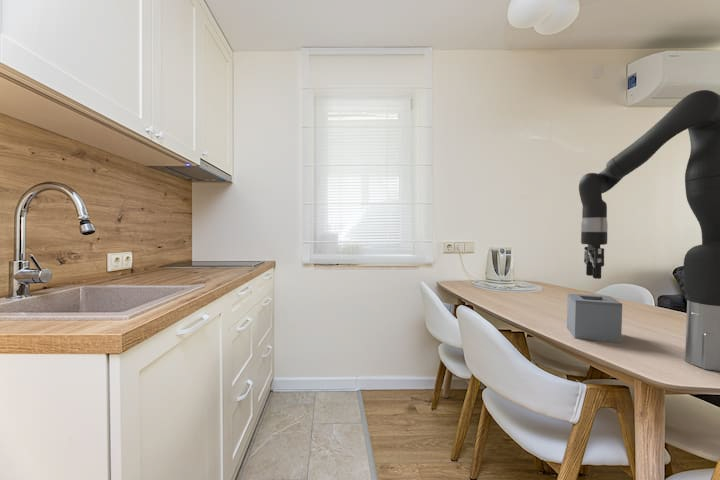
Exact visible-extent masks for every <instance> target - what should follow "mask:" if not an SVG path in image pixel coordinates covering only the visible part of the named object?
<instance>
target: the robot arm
mask: <svg viewBox="0 0 720 480" xmlns="http://www.w3.org/2000/svg"><path fill="white" fill-rule="evenodd" d="M686 130H688V131H687V132H688V135H689V141H690V153H689V157H688V161H687V164H686V168H685V173H684V187H685V189H684V190H685V196H686V201H687V203H688V205H689V208H690V209H691V211H692V213H693V215H694V216H695V218H696V220H697V222H698V224H699V227H700V231H701V232H700V233H701V244H697V245H695V246H692V247H691V248H690V249H689V250H687V251H686V254H685V255H684V259H683V288H684V290H685V293H686V296H687V300H686V301H687V303H686V324H685V325H686V326H685V327H686V329H685V350H684V351H685V352H684V353H685V354H684V355H685V356H684V360H685V362H686V363H688V364H691V365H693V366H696V367H699V368H702V369H703V370H710V371H717V372H720V94H719V93H717V92H715V91H712V90H710V89H704V90H703V89H701V90H696V91H694V92H692V93H689V94H688V95H685V97H683V98H682V99H681V100H680V101H679V102H677V104H675V105H674V106H673V107H672V108H671V109H670V110H669V111H668V112H667V113H666V114H665V115H664V116H663V117H662V118H661V119H660V120H659V121H657V122H656V123H655V124H654V125H653V126H652V127H650V129H649V130H647V131H646V132H645V133H644V134H643V135H641V136H640V137H639V138H637V139H636V140H635V141H634V142H633V143H631V144H630V145H629V146H627V147H626V148H624V149H623V150H621V151H620V152H619V153H617V154H616V155H615V156H613V157H612V158H610V159H609V160H608V161H607V162H606V165H605V168H604V169H602V171H600V172H599V173H598V172H597V173H596V172H589V173H586V174H584V175H582V176H581V179H580V180H579V182H578V192H579V196H580V197H579V198H580V202H581V204H582V208H581V209H582V212H581V213H582V216H581V217H582V220H581V227H580V228H581V230H580V243H581V245H587V246H584V259H583V263H584V264H585V265H586V267H585V268H586V269H585V272H586V273H585V274H586V276H590V277H592V278H593V279H596V280H597V279H598V280H601V279H602V269H603V267H605V248H603V247H602V248H601V246H604V245H608V229H609V228H608V218H607V217H608V216H607V215H608V206H607V203H606V201H605V200H603V197H602V194H605V193H607V192H609V191H610V190H611V189H612V188H614V187H615V186H616V185H618V183H620V182H621V180H622V179H623V178H624V177H626V176H627V175H629V174H631V173H632V172H633V171H635V170H637V169H638V168H639V167H641V166H642V165H644V164H645V163H647V161H648V160H650V159H651V158H652V157H653V156H655V154H656V153H657V151H659V150H660V148H662V147H663V146H664V145H665V144H666V143H667V142H669V141H670V140H672V139H673V138H674V137H676V136H677V135H679V134H681V133H682V132H684V131H686Z"/></svg>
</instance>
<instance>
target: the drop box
mask: <svg viewBox="0 0 720 480" xmlns="http://www.w3.org/2000/svg"><path fill="white" fill-rule="evenodd" d="M566 303H567V306H566V307H567V309H566V311H567V313H566V328H567V330H568V331H569V332H570V334H571V335H572V337H573V338H574V339H580V340H591V341H598V342H599V341H600V342H608V343H619V344H622V331H623V330H622V329H623V327H622V326H623V322H622V321H623V303H622V302H620V300H619V301H618V300H617V299H615V298H614V297H611V296H609V295H599V294H598V295H595V294H583V293H582V294H579V293H567V302H566Z"/></svg>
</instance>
